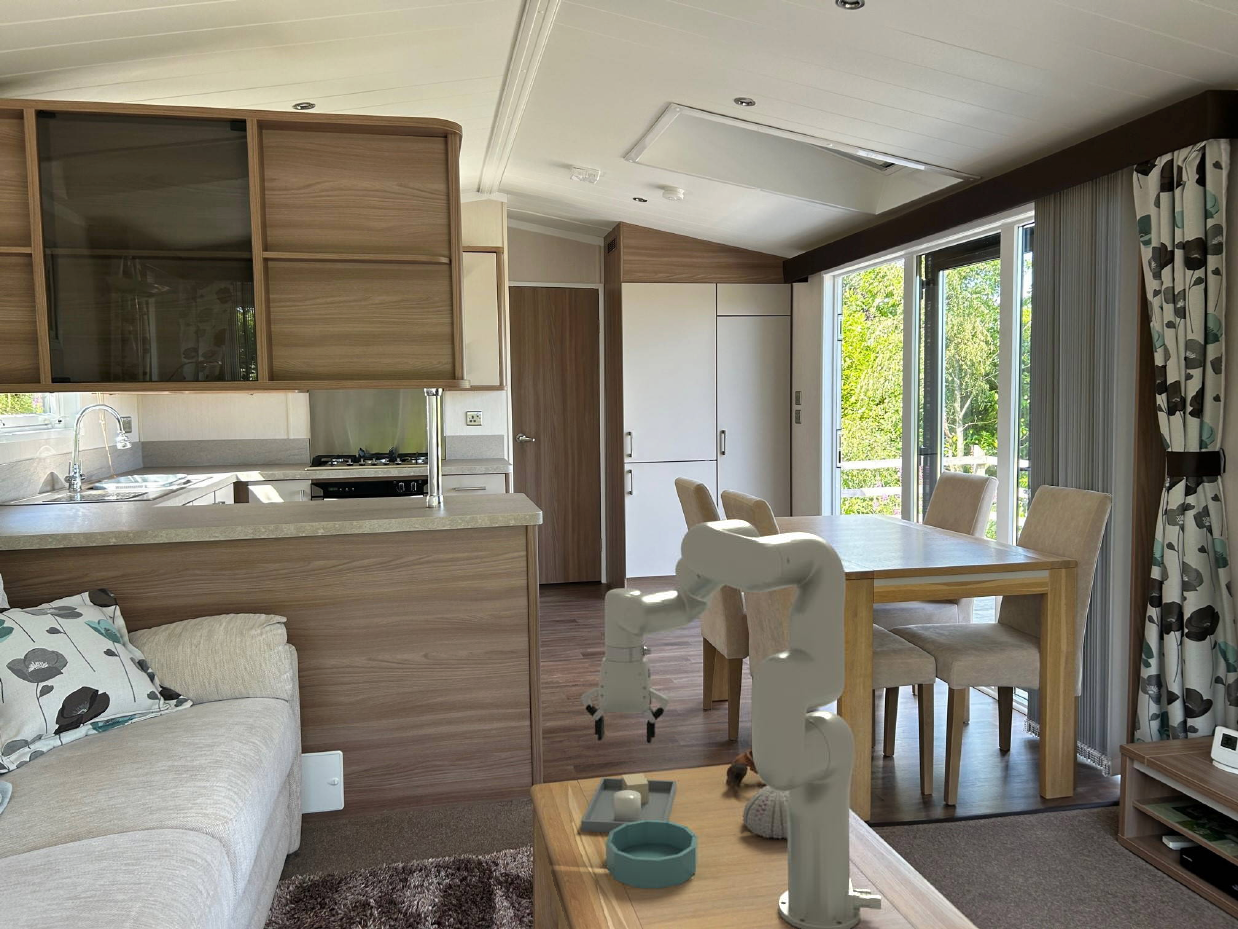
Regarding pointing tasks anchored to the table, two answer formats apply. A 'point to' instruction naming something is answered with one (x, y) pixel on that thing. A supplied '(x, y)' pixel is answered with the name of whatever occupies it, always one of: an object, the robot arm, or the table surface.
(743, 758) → the brown animal figurine
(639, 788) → the sand stone
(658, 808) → the parts tray
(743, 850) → the table surface
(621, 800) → the pale stone
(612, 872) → the bowl
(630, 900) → the table surface
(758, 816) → the sea urchin shell
